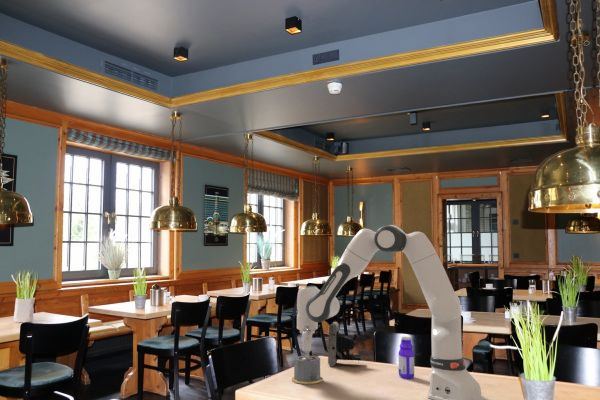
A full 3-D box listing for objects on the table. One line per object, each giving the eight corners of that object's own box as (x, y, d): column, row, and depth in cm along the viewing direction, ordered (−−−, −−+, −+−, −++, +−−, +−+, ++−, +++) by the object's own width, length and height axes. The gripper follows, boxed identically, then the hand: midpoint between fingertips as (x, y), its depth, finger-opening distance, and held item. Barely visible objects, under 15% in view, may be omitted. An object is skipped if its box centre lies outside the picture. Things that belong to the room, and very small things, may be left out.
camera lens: (317, 368, 217) (317, 359, 217) (304, 370, 214) (304, 360, 214) (309, 365, 222) (309, 356, 222) (297, 367, 219) (297, 357, 220)
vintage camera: (360, 369, 240) (361, 325, 241) (327, 366, 243) (328, 323, 245) (362, 364, 249) (363, 322, 251) (330, 362, 252) (331, 320, 254)
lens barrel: (328, 382, 215) (328, 359, 216) (301, 386, 209) (301, 363, 210) (312, 375, 226) (312, 354, 227) (286, 378, 220) (286, 357, 221)
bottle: (417, 378, 221) (416, 337, 222) (405, 380, 219) (405, 337, 220) (407, 374, 227) (406, 334, 229) (396, 376, 225) (395, 335, 227)
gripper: (315, 328, 209) (314, 363, 208) (314, 321, 230) (314, 353, 228) (299, 328, 209) (299, 363, 208) (300, 321, 230) (300, 353, 229)
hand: (307, 358), depth 218 cm, fingers closed
